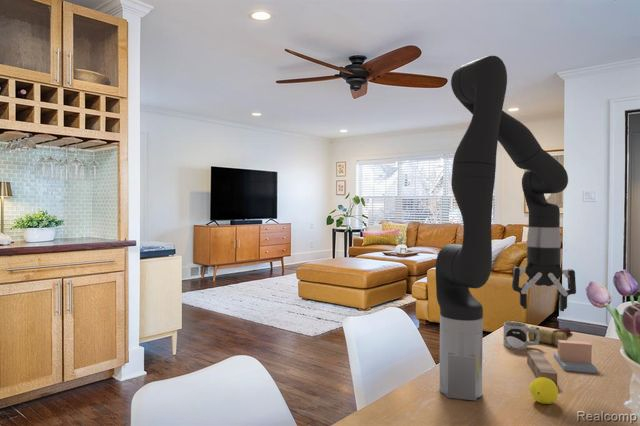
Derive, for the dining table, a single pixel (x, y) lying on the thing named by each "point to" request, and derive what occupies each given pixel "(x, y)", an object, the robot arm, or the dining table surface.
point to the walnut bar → (541, 366)
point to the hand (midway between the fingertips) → (542, 309)
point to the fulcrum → (575, 356)
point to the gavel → (550, 335)
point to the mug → (518, 335)
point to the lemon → (544, 390)
